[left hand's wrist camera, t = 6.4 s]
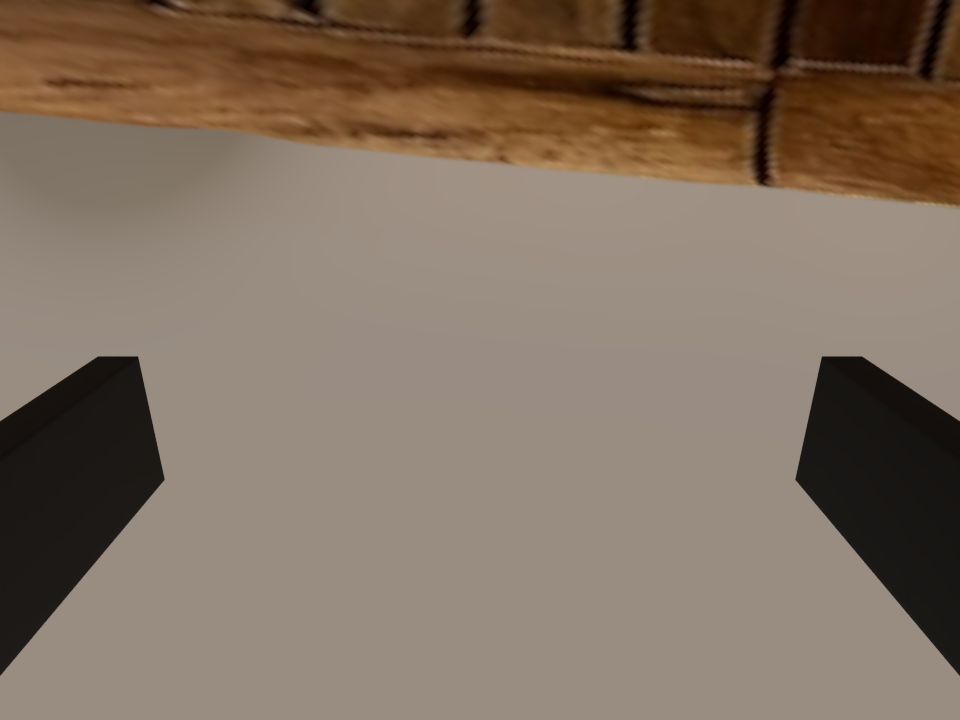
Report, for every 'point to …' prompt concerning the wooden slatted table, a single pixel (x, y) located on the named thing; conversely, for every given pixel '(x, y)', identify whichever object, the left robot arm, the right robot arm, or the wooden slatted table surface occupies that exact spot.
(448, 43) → the wooden slatted table surface
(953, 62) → the wooden slatted table surface
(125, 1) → the wooden slatted table surface
